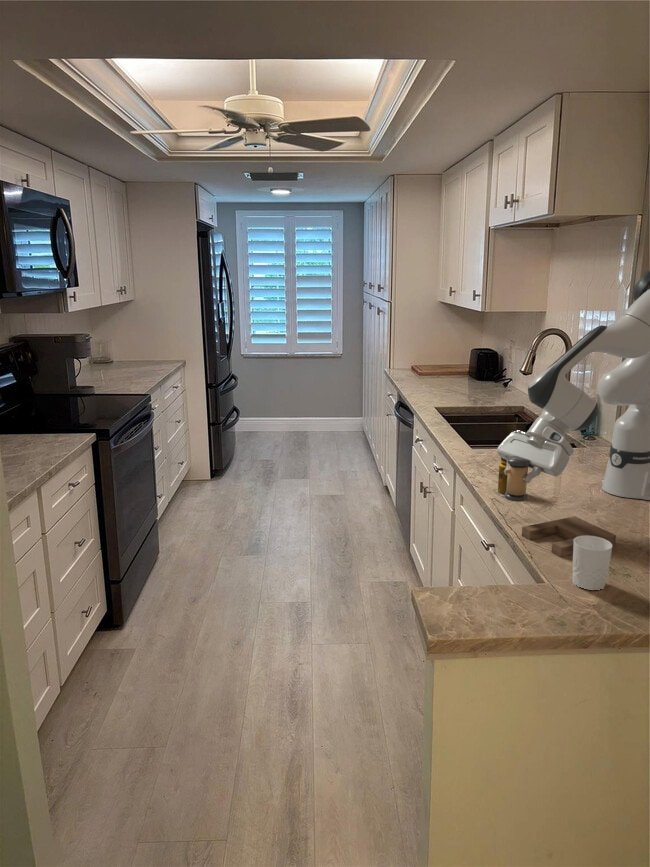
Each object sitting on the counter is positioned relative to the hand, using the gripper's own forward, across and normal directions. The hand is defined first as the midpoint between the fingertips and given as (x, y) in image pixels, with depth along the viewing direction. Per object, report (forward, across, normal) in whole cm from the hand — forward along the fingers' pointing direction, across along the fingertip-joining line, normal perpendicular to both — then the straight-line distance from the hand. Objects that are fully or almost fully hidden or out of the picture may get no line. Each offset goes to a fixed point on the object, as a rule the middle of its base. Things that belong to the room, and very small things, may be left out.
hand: (515, 477), depth 169 cm
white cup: (+18, +33, +1) cm, 37 cm away
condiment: (-4, -18, +24) cm, 30 cm away
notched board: (+6, +15, +13) cm, 21 cm away
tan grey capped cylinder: (+4, 0, +5) cm, 6 cm away
